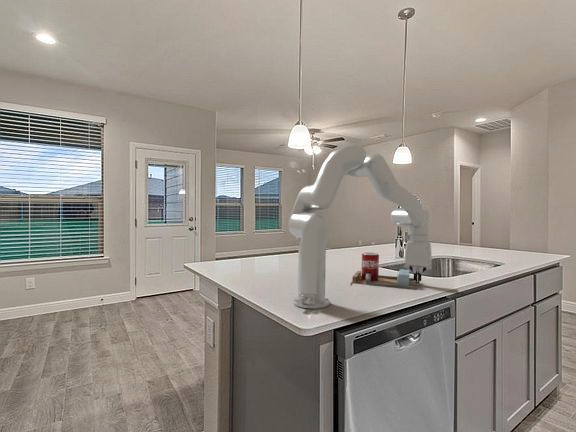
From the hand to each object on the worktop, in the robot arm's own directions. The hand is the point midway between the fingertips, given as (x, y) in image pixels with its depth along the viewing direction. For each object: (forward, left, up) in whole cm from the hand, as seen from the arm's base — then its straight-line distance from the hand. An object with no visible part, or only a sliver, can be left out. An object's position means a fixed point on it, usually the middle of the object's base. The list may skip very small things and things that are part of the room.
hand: (417, 282), depth 132 cm
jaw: (0, +5, -1) cm, 5 cm away
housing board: (0, +13, -2) cm, 14 cm away
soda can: (0, +19, -1) cm, 19 cm away
